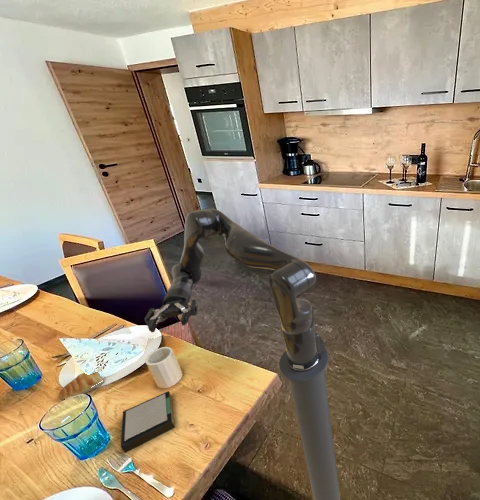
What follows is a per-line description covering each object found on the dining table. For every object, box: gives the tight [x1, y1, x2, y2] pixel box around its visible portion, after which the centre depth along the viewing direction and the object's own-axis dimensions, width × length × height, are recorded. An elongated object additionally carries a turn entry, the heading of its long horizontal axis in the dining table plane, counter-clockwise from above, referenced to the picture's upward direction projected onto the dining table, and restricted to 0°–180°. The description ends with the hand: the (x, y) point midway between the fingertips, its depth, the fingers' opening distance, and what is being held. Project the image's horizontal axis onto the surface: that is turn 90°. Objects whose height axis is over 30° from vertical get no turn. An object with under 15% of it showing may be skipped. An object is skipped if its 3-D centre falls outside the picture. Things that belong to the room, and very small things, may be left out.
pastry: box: [58, 372, 105, 400], centre depth 80 cm, size 9×7×4 cm
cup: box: [144, 346, 183, 389], centre depth 80 cm, size 6×6×9 cm
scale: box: [120, 390, 176, 454], centre depth 70 cm, size 10×10×3 cm
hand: (167, 326), depth 87 cm, fingers open, 8 cm apart
